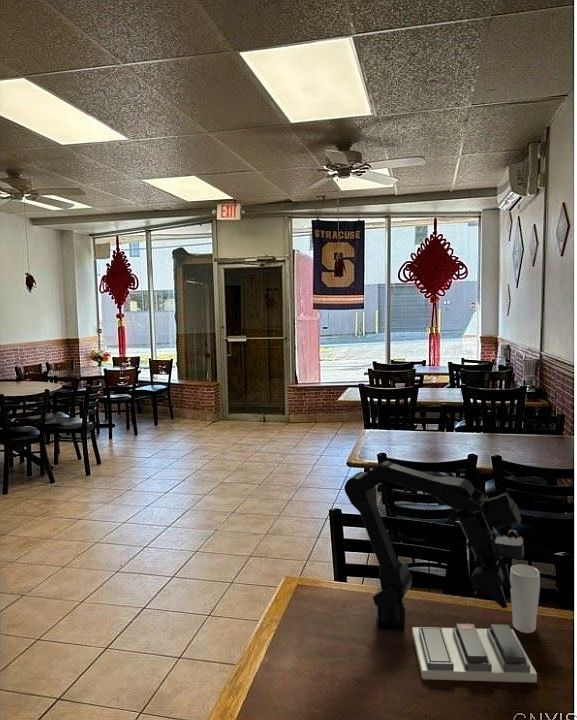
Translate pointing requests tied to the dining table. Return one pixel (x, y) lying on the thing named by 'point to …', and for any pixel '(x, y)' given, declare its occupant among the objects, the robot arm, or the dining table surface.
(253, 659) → the dining table surface
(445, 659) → the button left
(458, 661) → the switch panel base
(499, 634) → the button right
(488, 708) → the dining table surface
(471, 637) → the button middle
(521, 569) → the drinking glass
